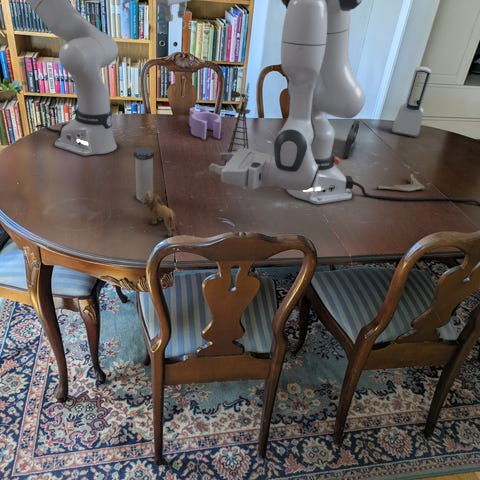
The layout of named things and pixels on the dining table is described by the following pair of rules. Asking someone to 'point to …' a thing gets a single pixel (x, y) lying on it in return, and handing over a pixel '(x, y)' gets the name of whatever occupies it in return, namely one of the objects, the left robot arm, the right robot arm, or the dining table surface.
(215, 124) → the clip
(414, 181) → the jawbone
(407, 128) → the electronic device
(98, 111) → the left robot arm
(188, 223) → the dining table surface
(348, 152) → the handheld gaming console
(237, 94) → the miniature windmill
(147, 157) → the lid
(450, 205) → the dining table surface
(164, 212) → the lion figurine
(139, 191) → the jar
